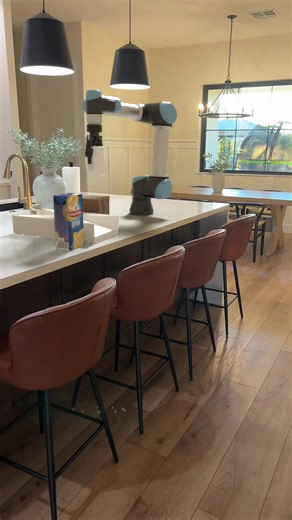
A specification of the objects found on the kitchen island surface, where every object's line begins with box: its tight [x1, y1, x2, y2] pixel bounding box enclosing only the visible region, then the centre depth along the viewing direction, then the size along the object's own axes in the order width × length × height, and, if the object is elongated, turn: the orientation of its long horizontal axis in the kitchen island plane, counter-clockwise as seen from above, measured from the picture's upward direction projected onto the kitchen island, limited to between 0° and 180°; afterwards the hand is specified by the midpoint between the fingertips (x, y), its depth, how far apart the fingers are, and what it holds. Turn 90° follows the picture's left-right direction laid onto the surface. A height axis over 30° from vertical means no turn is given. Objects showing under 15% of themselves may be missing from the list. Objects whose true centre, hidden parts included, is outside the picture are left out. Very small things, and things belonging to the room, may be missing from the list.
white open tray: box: [11, 208, 120, 245], centre depth 195 cm, size 45×22×10 cm, turn 66°
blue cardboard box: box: [52, 192, 85, 252], centre depth 169 cm, size 7×11×22 cm, turn 157°
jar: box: [84, 145, 106, 178], centre depth 206 cm, size 11×10×15 cm
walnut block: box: [82, 194, 111, 215], centre depth 213 cm, size 14×14×15 cm
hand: (95, 170), depth 207 cm, fingers closed on jar, 10 cm apart
